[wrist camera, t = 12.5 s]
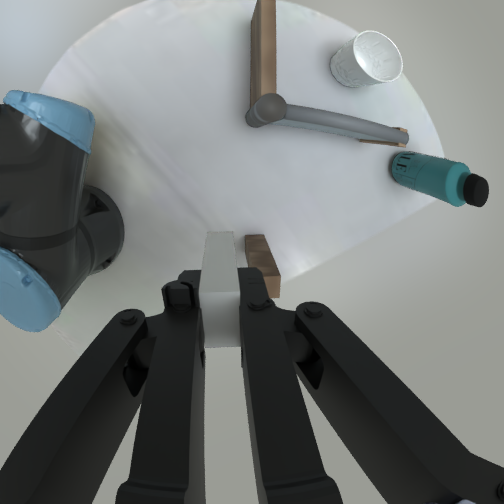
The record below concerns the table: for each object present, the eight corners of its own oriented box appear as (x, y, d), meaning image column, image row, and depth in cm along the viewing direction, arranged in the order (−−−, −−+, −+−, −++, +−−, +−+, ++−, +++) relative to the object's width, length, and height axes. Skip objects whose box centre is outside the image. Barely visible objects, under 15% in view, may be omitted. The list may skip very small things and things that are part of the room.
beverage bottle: (409, 187, 43) (489, 221, 25) (382, 181, 42) (464, 214, 24) (415, 154, 41) (498, 175, 22) (388, 145, 40) (474, 161, 22)
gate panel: (268, 126, 36) (286, 121, 26) (270, 110, 36) (288, 100, 25) (365, 142, 38) (407, 147, 28) (367, 128, 38) (409, 130, 27)
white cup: (373, 89, 36) (408, 82, 27) (333, 92, 36) (362, 82, 27) (362, 48, 33) (393, 32, 23) (320, 49, 33) (346, 29, 23)
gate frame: (245, 252, 45) (254, 299, 32) (246, 21, 30) (257, -22, 17) (263, 251, 45) (279, 297, 33) (265, 22, 30) (284, -20, 17)
